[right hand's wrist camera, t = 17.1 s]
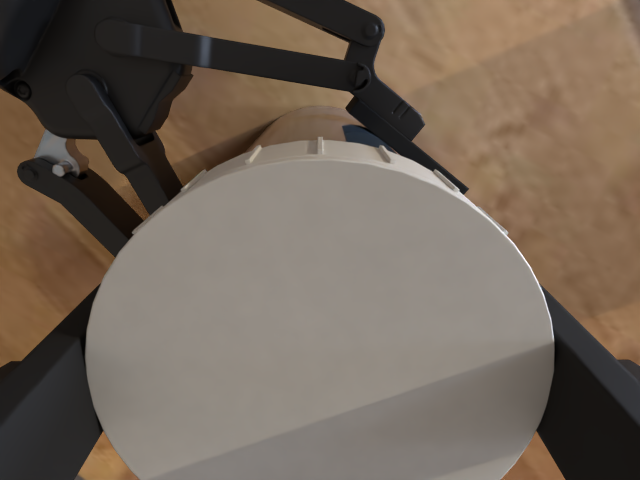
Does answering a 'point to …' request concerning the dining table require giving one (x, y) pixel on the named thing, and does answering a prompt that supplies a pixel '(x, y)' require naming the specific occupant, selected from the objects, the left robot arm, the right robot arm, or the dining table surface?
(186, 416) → the lid
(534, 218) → the dining table surface
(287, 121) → the jar
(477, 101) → the dining table surface
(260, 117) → the dining table surface
